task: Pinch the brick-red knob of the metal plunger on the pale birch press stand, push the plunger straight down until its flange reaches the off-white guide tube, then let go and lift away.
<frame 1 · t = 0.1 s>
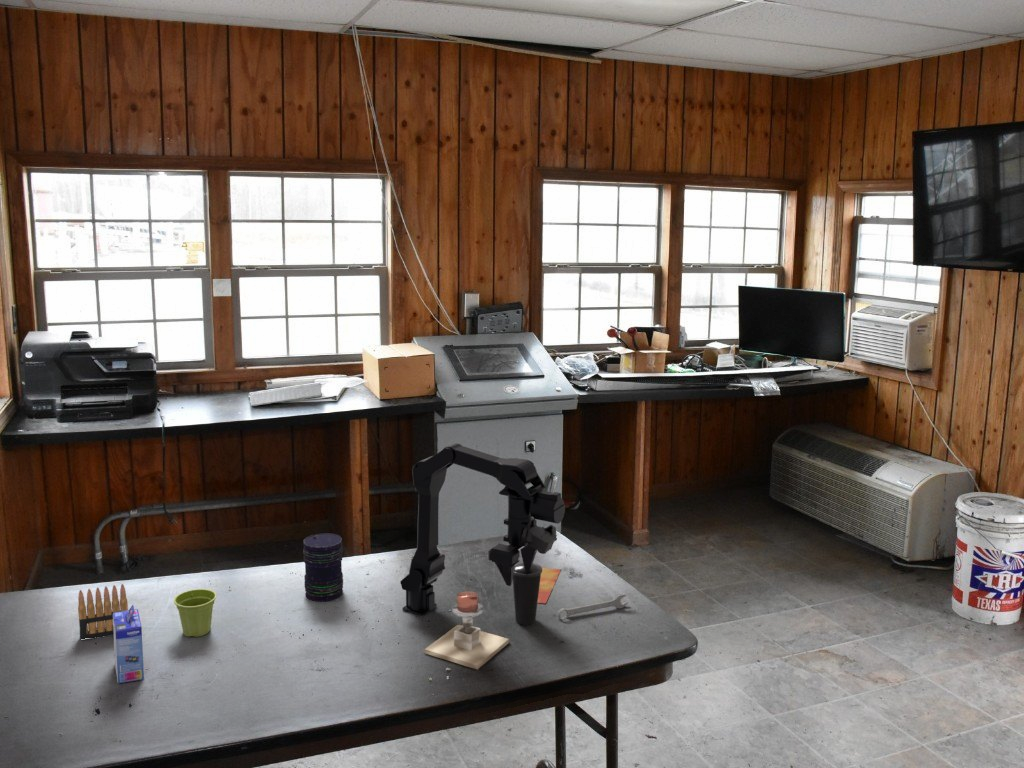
hand: (518, 578, 205), 15 cm above the table, fingers open, 9 cm apart
ammunition clip: (105, 635, 206), on the table
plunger: (467, 610, 200), point 9 cm above the table, slide at 0.0 cm
combination wrench: (593, 614, 221), on the table
plant pot: (197, 632, 208), on the table
press stand: (467, 648, 202), on the table
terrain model: (508, 583, 239), on the table
ink cartridge box: (130, 672, 190), on the table
drinking cup: (525, 621, 216), on the table
storage jar: (324, 595, 229), on the table
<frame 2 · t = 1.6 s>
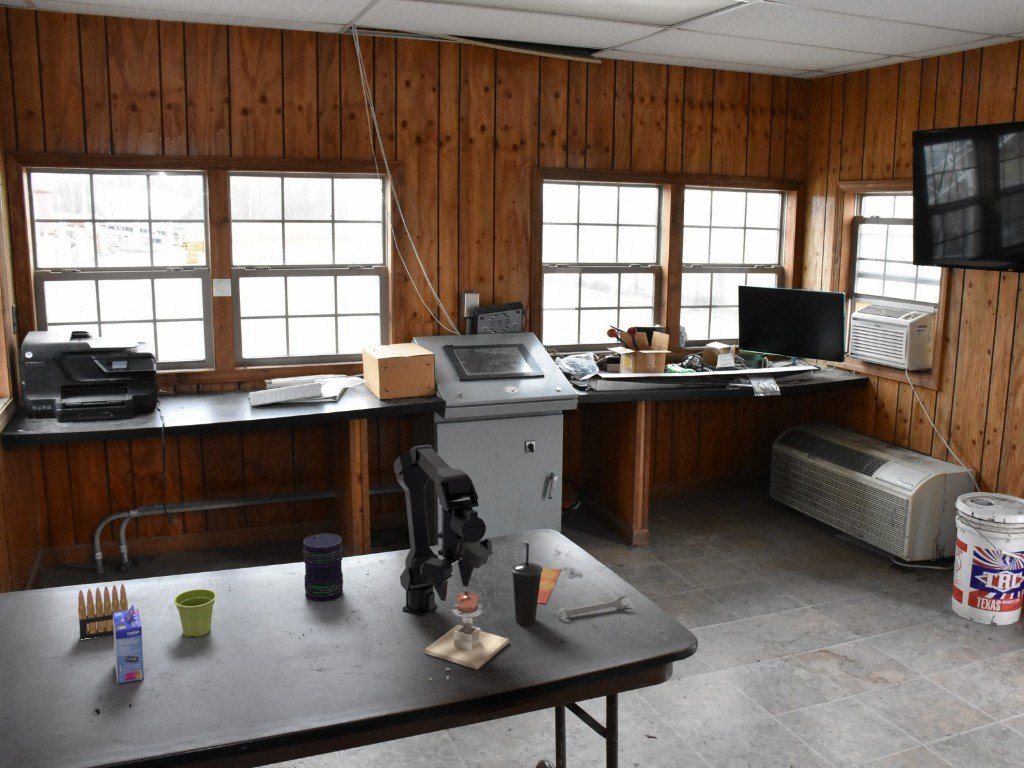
hand: (454, 593, 201), 13 cm above the table, fingers open, 9 cm apart
nothing on the table moved.
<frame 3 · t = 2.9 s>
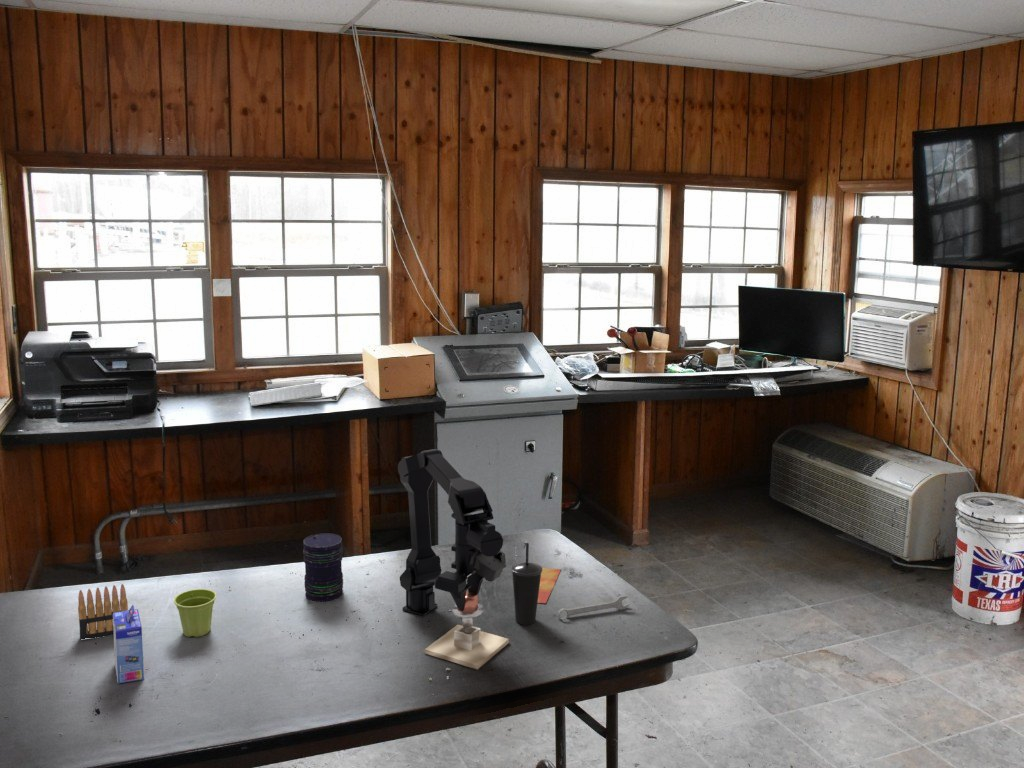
hand: (467, 606, 200), 10 cm above the table, fingers closed on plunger, 5 cm apart
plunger: (467, 610, 200), point 9 cm above the table, slide at 0.1 cm, touching gripper
everything else where it was.
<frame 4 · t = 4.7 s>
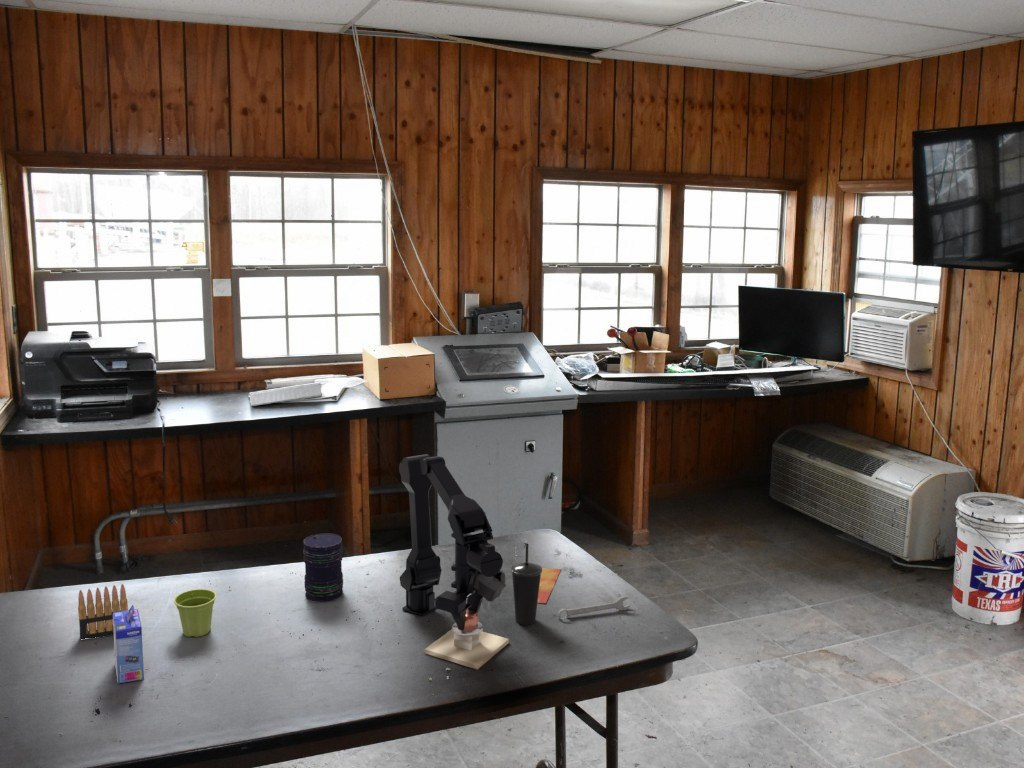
hand: (467, 625, 201), 6 cm above the table, fingers closed on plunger, 5 cm apart
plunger: (467, 628, 201), point 5 cm above the table, slide at 4.6 cm, touching gripper
everything else where it was.
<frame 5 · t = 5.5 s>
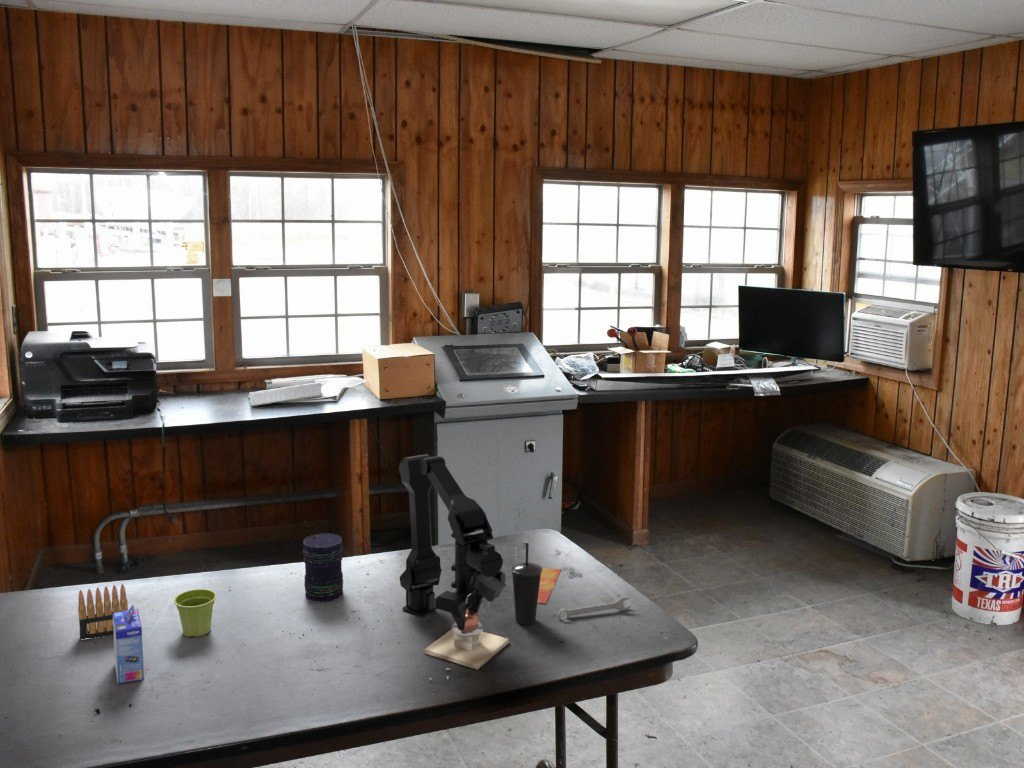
hand: (467, 625, 201), 6 cm above the table, fingers closed on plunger, 5 cm apart
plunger: (467, 629, 201), point 5 cm above the table, slide at 4.6 cm, touching gripper
everything else where it was.
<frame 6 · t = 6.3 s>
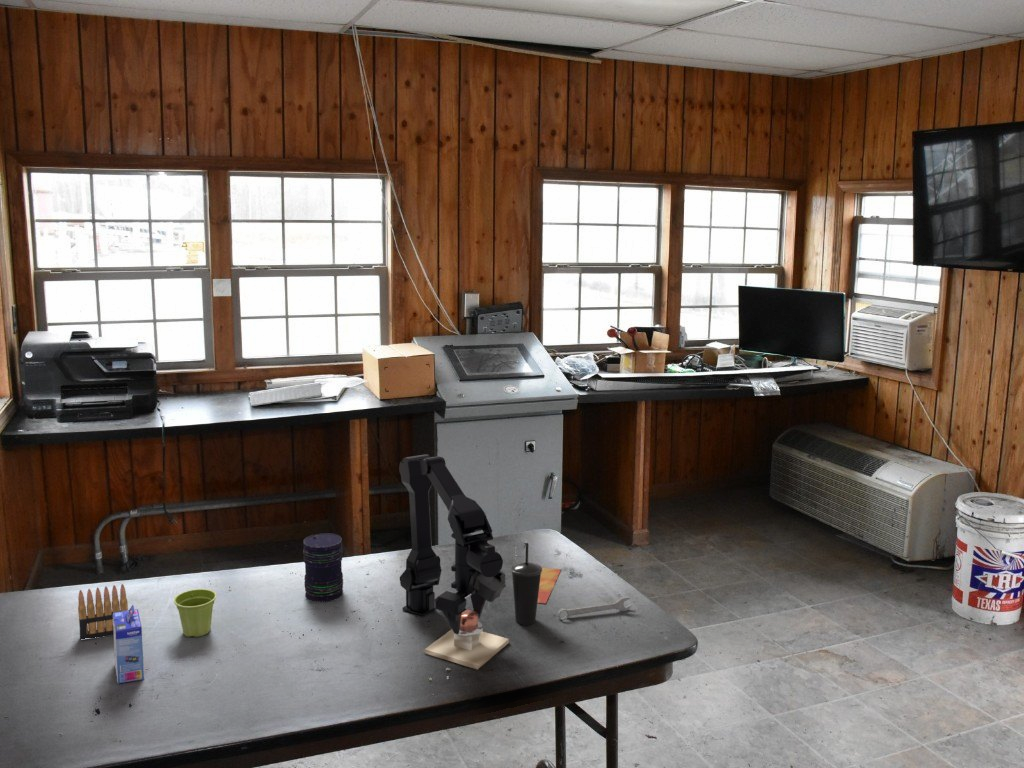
hand: (467, 625, 201), 6 cm above the table, fingers open, 9 cm apart
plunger: (467, 629, 201), point 5 cm above the table, slide at 4.6 cm
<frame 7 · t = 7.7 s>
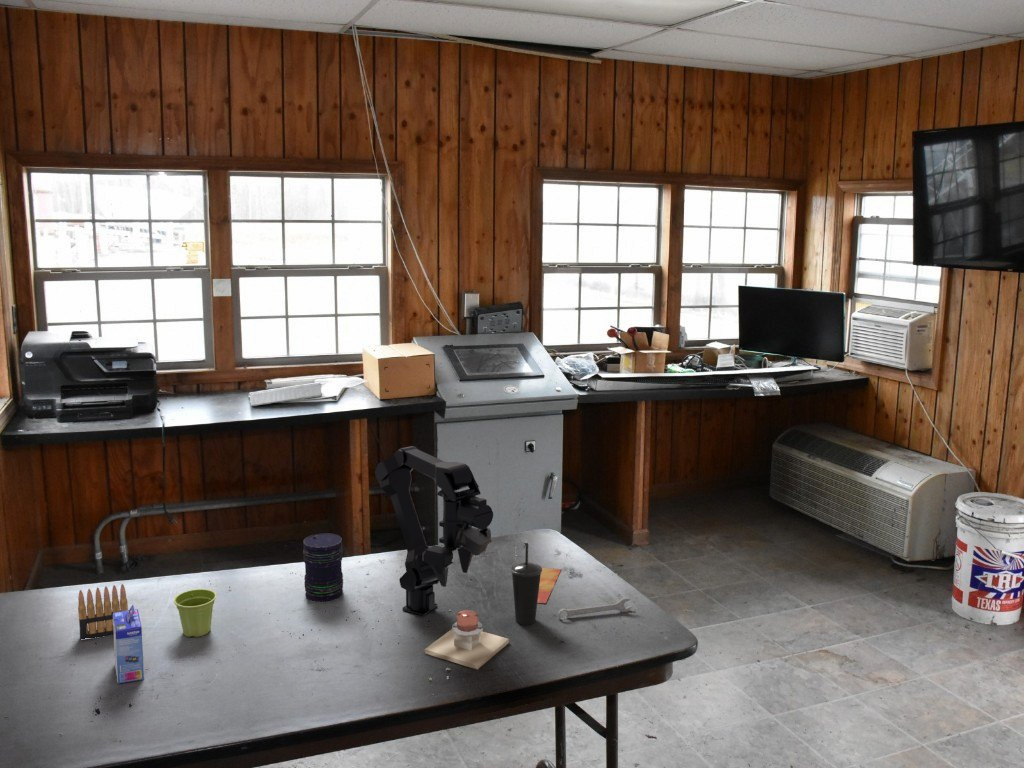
hand: (454, 579, 209), 12 cm above the table, fingers open, 9 cm apart
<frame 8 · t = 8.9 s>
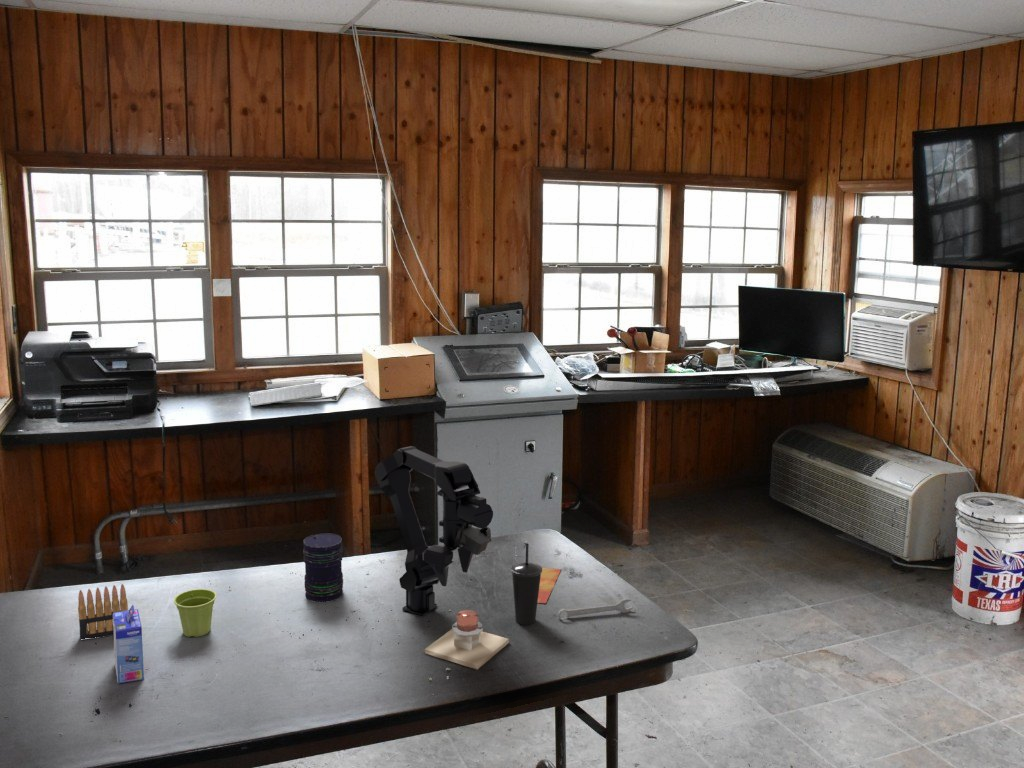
hand: (454, 578, 209), 13 cm above the table, fingers open, 9 cm apart
at the end: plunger slide at 4.6 cm; the gripper is holding nothing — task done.
